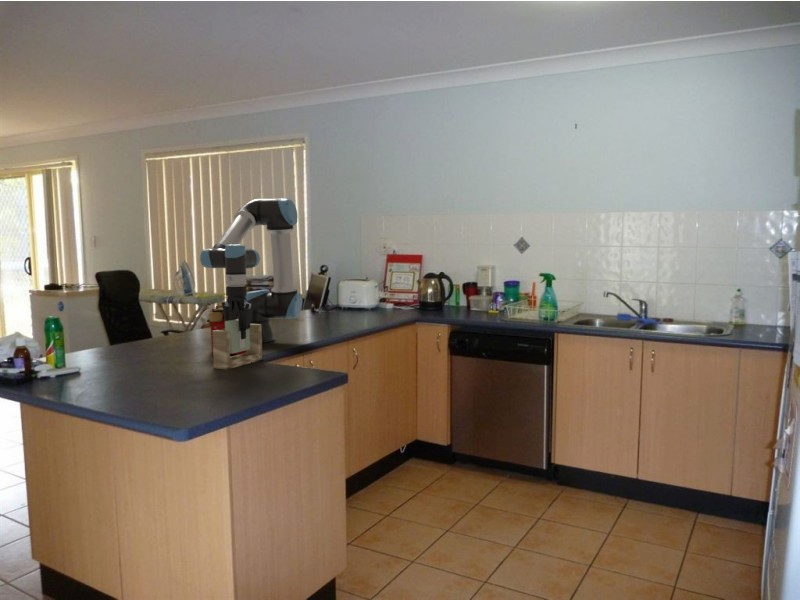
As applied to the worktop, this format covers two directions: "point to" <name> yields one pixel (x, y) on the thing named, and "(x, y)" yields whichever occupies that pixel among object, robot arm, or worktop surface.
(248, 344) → the door panel
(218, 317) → the radio
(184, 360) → the worktop surface
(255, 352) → the u-shaped stone holder
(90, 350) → the worktop surface
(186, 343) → the worktop surface
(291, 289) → the robot arm
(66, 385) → the worktop surface
